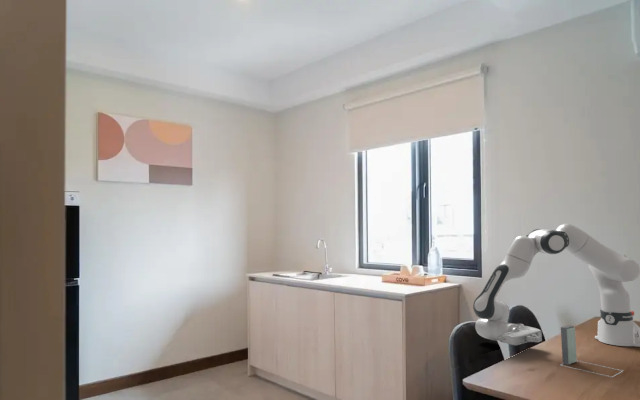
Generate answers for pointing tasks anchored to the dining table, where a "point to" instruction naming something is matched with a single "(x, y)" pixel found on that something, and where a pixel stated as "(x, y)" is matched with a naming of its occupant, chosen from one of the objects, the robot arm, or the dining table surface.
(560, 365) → the white wire frame
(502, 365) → the dining table surface
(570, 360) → the tile
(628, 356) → the dining table surface
